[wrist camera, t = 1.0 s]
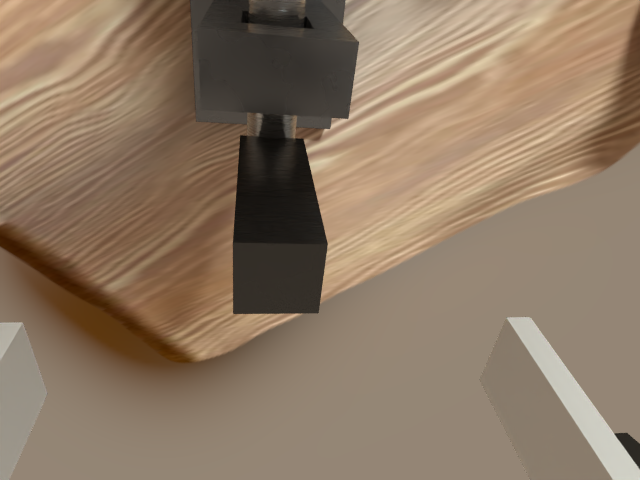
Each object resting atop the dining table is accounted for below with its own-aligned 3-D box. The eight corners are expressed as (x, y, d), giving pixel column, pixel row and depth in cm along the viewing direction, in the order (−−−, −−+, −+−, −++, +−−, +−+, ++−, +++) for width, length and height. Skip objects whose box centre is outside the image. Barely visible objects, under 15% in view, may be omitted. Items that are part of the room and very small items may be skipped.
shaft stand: (183, -210, 25) (96, -375, 11) (362, -180, 26) (476, -294, 13) (198, 114, 35) (161, 234, 21) (327, 122, 36) (371, 238, 23)
